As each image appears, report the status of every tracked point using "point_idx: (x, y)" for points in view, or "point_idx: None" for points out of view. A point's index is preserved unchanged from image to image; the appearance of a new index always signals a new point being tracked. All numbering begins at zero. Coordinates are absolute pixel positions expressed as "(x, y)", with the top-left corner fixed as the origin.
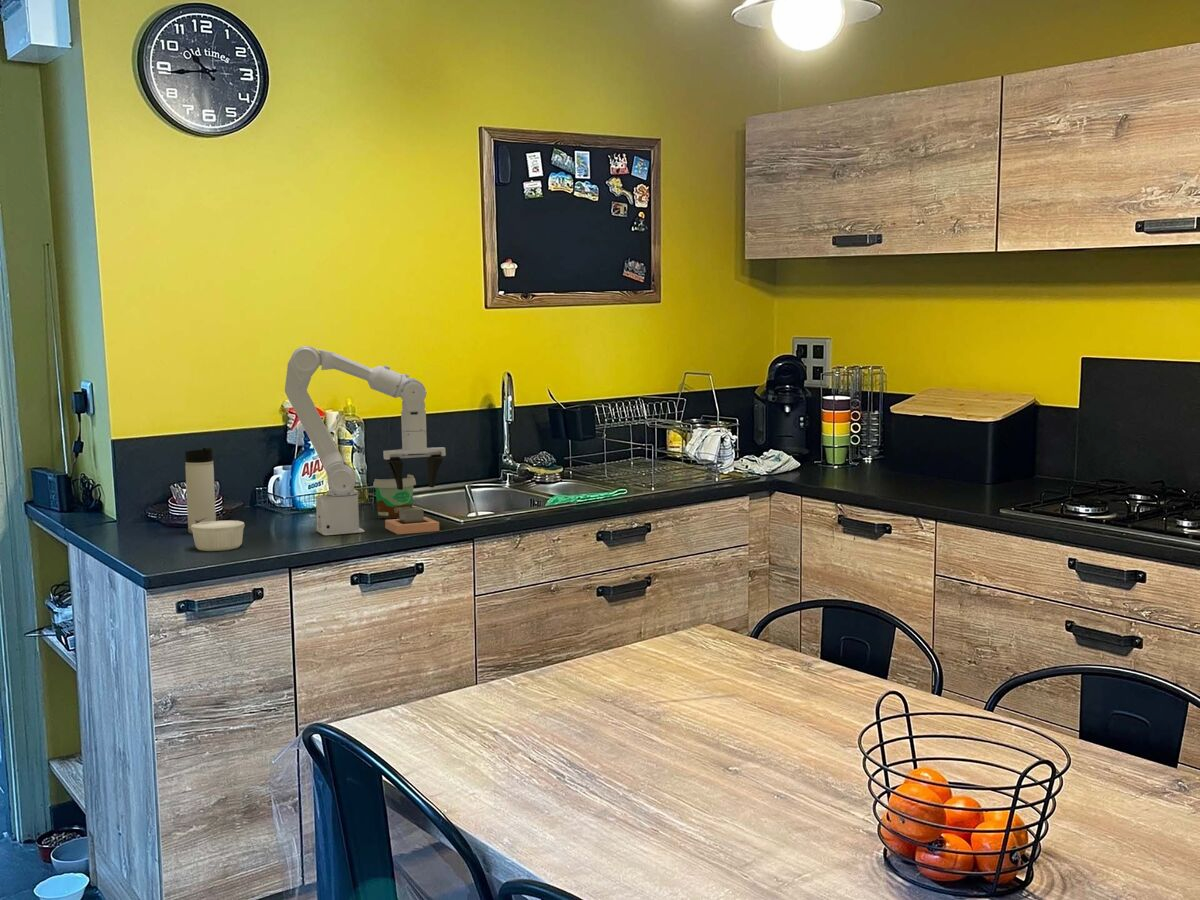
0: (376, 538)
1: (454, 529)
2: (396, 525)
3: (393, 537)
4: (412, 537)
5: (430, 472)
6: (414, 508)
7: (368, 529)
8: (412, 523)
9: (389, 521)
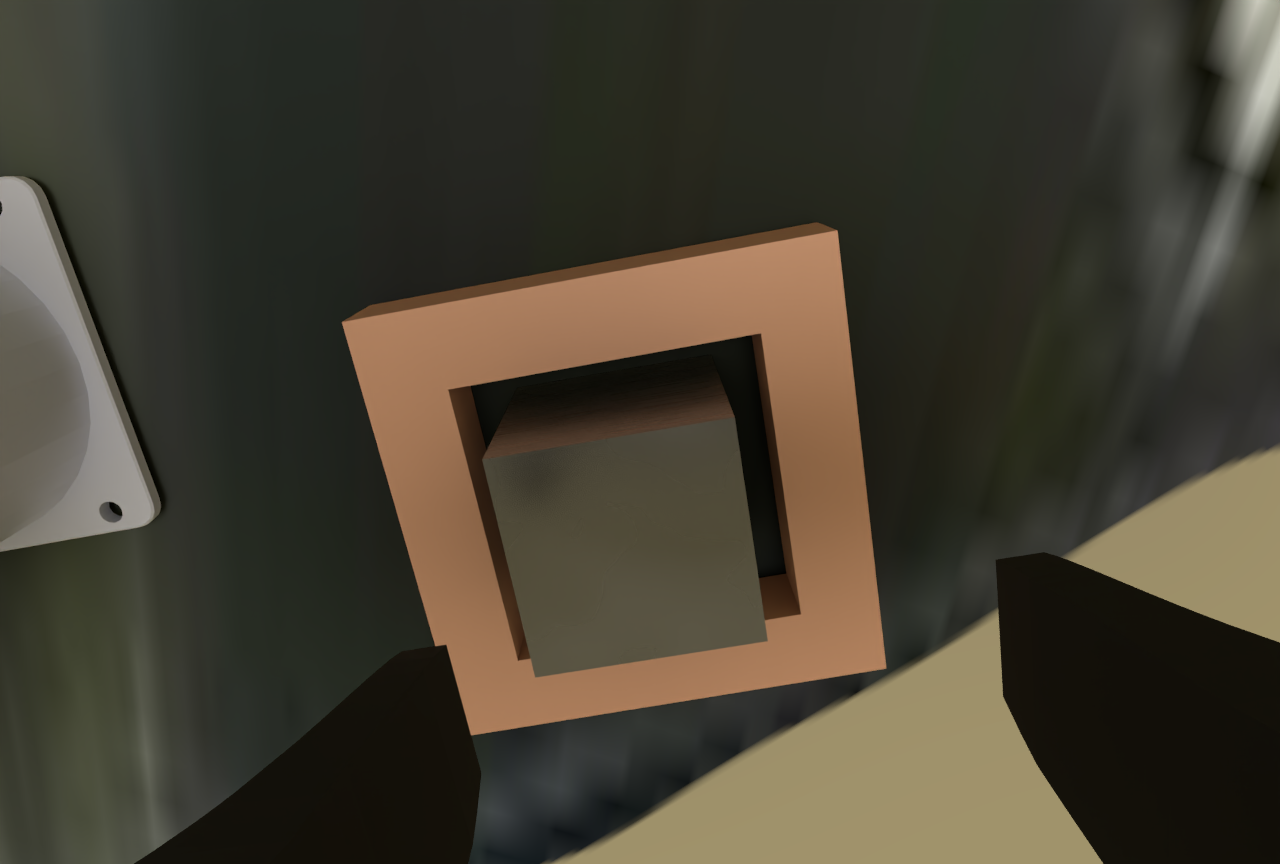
0: None
1: None
2: None
3: None
4: (585, 842)
5: (1171, 823)
6: (673, 540)
7: (193, 304)
8: None
9: (390, 449)
